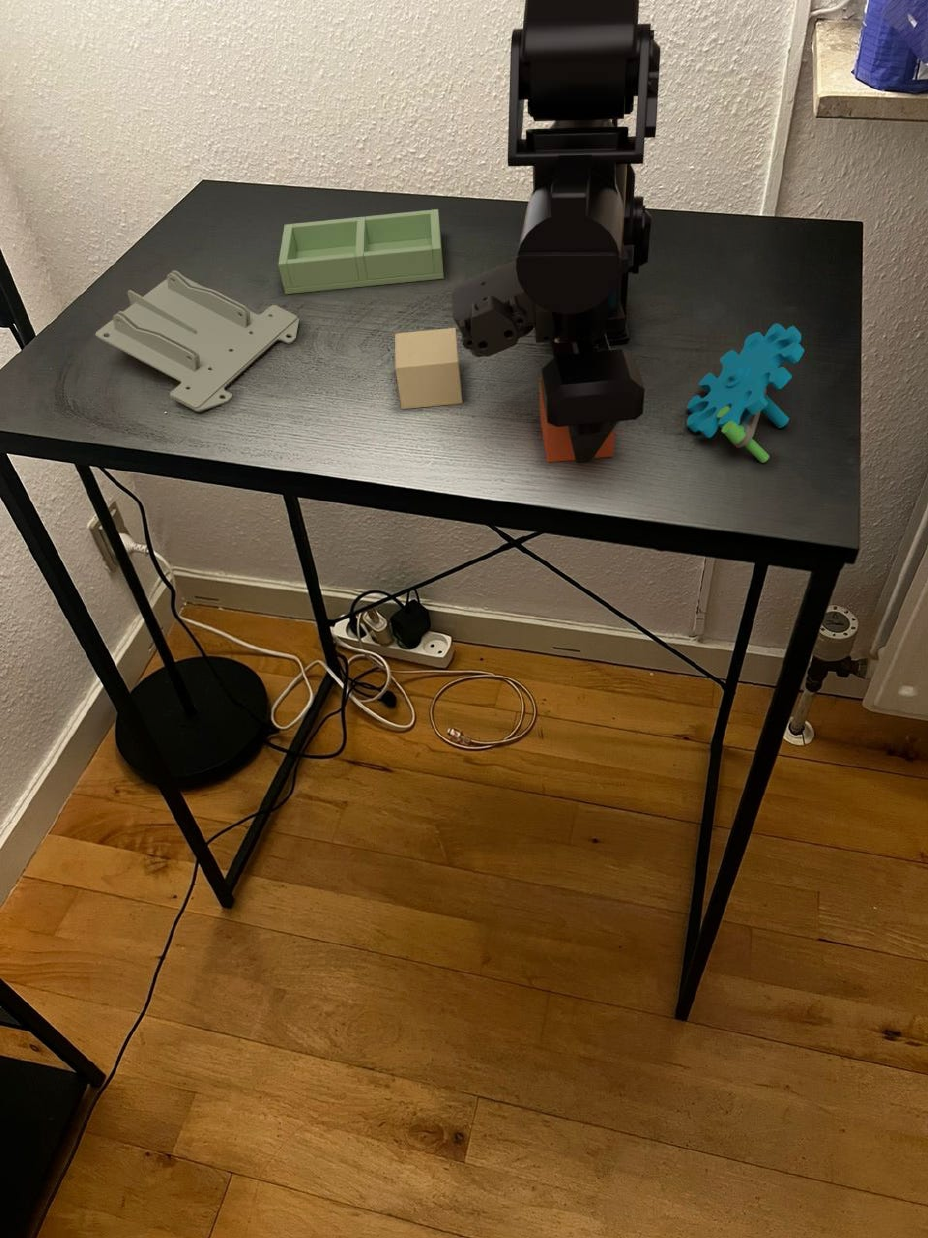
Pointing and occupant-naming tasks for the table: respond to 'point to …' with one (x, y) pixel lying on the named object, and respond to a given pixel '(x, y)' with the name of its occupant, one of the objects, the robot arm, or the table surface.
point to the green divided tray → (361, 252)
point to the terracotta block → (565, 439)
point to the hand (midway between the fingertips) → (576, 427)
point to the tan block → (428, 368)
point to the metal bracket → (196, 337)
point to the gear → (746, 388)
